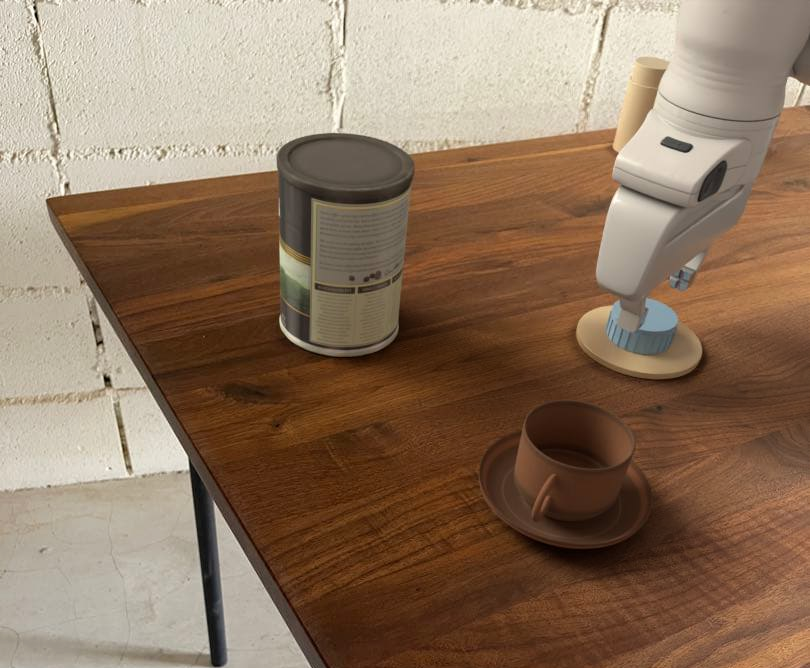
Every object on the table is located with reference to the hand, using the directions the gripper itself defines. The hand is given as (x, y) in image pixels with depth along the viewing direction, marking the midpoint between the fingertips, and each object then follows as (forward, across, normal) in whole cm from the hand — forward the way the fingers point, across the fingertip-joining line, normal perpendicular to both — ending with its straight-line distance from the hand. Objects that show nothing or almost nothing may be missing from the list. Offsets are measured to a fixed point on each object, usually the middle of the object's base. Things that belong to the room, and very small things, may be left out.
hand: (655, 305), depth 75 cm
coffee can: (+4, +17, -20) cm, 27 cm away
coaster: (+4, 0, 0) cm, 4 cm away
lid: (+1, 0, -1) cm, 1 cm away
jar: (+4, -40, -22) cm, 46 cm away
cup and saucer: (+4, +23, +6) cm, 24 cm away
